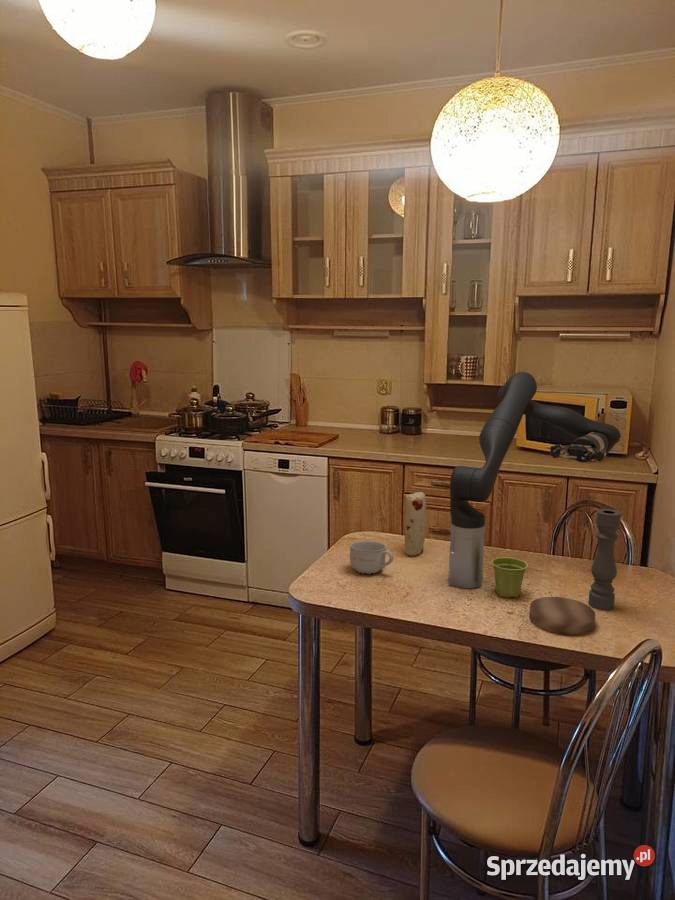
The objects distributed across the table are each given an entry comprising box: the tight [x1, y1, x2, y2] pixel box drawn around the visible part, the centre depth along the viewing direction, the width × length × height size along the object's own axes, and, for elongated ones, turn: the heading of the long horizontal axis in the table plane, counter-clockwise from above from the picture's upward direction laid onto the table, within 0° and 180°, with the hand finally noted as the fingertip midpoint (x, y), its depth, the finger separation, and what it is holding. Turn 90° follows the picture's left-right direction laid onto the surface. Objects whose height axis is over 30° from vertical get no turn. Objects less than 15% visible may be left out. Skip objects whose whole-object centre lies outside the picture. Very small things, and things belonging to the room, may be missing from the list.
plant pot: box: [491, 556, 529, 598], centre depth 168 cm, size 9×9×9 cm
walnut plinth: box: [528, 596, 596, 636], centre depth 152 cm, size 15×15×3 cm
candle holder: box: [588, 508, 622, 611], centre depth 159 cm, size 6×6×25 cm
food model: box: [403, 491, 428, 557], centre depth 198 cm, size 10×7×20 cm
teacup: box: [349, 540, 394, 575], centre depth 183 cm, size 14×11×8 cm
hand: (569, 456), depth 171 cm, fingers open, 8 cm apart
